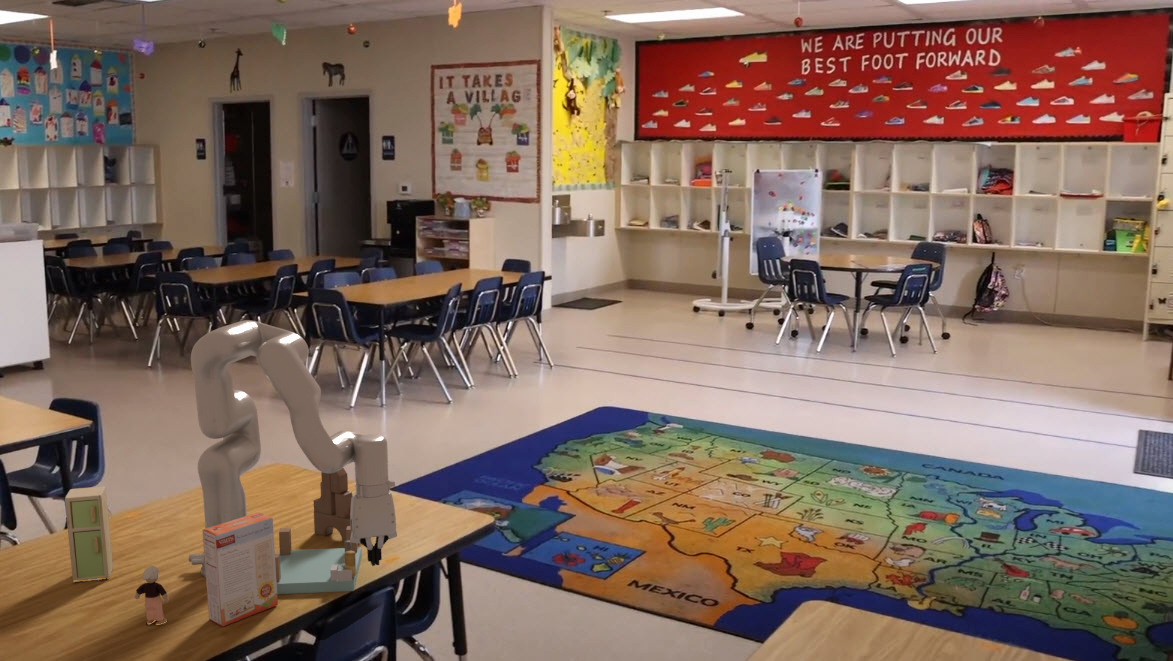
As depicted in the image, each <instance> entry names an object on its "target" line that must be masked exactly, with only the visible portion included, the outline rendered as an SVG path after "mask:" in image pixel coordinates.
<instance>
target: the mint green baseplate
mask: <svg viewBox="0 0 1173 661" xmlns="http://www.w3.org/2000/svg"><path fill="white" fill-rule="evenodd" d="M291 530H292V528H291V527H289V528H288V527H287V528H283V527H282V528H280V529H279V532H278V537H279V538H278V543H279V550H278V551H277V553H275V565H276V582H277V595H284V594H285V595H287V594H288V595H290V594H291V595H292V594H313V593H315V594H316V593H334V592H335V593H336V592H341V593H342V592H354V591H355V588H356V583H357V579H358V576H359V575H358V574H359V570H360V566H361V562H362V556H363V553H362V547H359V545H358V544H359V543H352V542H351V545H352V551H355V559H356V576H354V577H352V569H347V570H345V547H341V548H339V547H337V548H336V547H335V548H316V549H315V548H313V549H292V534H291V533H292V531H291ZM351 533H352V532H351V529H350V526H347V529H346V539H347V540H350V538H351ZM350 541H351V540H350Z"/></svg>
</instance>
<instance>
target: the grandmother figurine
mask: <svg viewBox="0 0 1173 661" xmlns="http://www.w3.org/2000/svg"><path fill="white" fill-rule="evenodd" d="M141 579H142V580H144V581H145V582H144V583H142V584H141V585H139V586H138V588H137V589H136V591H135V595H134V599H136V600H139V599H140V597H141V595H143V594H144V610H145V617H146V620H148V621H146V622H147V623H152V622H153V621H154V620H156V621H157V622H155V624H161V623H164V622H166V621H167V620H168V619H167V618H166V617H164V610H163V602H164V603H169V602H170V599H169V596H168V592H167V591H166V589H165V588H164V586H163V585H162V584H161V583H158V582H157V581H158V580H159V568H158V567H157V566H153V565H150V566H148V567H147V568H146V569H145V570H144V571H143V573H142V575H141ZM162 599H163V601H162Z"/></svg>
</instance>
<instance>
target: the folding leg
mask: <svg viewBox="0 0 1173 661" xmlns="http://www.w3.org/2000/svg"><path fill="white" fill-rule="evenodd" d="M344 548H345V570H347V569H352V577H354V576H356V559H355V551H352V545H351V541H350V540H347V541H345V542H344Z"/></svg>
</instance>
